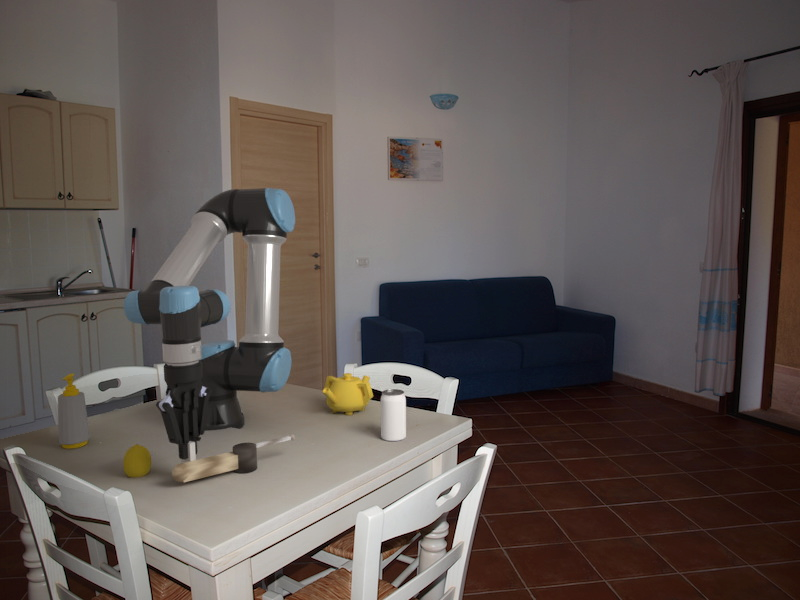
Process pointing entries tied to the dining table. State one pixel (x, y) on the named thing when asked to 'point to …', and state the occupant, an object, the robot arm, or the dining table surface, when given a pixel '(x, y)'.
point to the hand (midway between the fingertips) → (189, 471)
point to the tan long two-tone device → (224, 462)
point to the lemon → (137, 461)
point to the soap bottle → (72, 417)
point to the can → (393, 415)
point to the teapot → (347, 393)
